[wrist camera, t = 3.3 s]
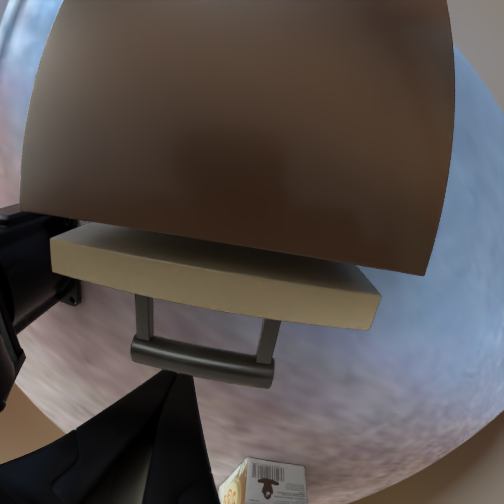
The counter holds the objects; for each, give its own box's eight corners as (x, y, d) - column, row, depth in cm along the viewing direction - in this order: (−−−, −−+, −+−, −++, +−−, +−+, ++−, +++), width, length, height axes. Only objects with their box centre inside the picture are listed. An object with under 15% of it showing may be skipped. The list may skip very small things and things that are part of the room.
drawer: (305, 336, 16) (323, 428, 9) (132, 305, 16) (72, 374, 9) (360, 36, 11) (413, -29, 4) (170, 14, 11) (120, -53, 4)
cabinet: (342, 217, 14) (424, 277, 6) (132, 185, 14) (19, 211, 6) (367, 6, 10) (424, -73, 2) (178, -16, 10) (129, -97, 2)
